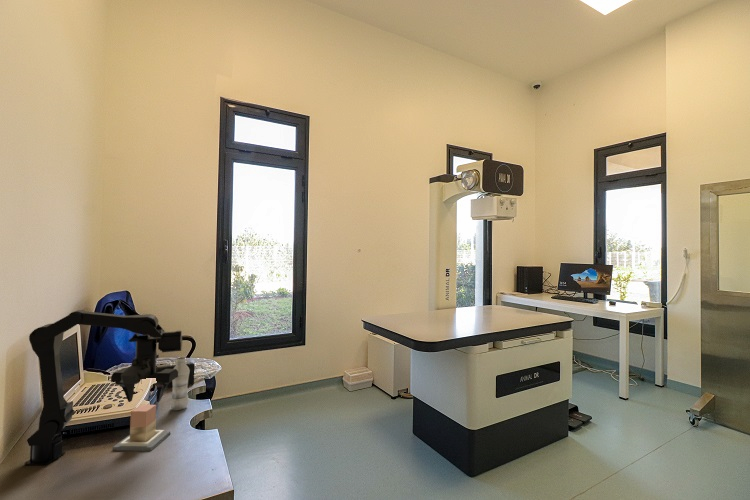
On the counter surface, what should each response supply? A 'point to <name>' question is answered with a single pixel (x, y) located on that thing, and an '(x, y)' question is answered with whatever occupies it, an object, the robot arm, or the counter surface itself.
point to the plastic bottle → (180, 385)
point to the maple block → (142, 433)
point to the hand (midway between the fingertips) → (144, 401)
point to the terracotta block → (143, 416)
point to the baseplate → (142, 446)
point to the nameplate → (190, 365)
